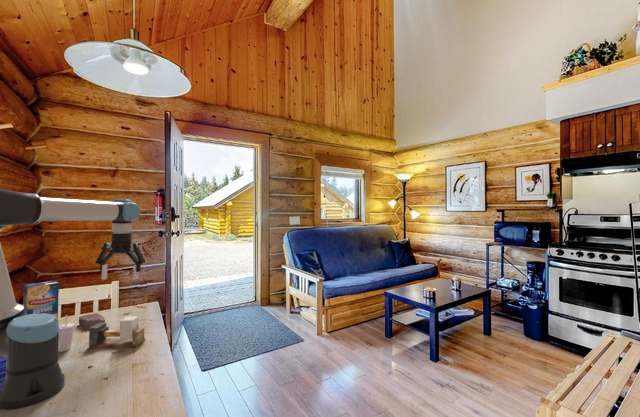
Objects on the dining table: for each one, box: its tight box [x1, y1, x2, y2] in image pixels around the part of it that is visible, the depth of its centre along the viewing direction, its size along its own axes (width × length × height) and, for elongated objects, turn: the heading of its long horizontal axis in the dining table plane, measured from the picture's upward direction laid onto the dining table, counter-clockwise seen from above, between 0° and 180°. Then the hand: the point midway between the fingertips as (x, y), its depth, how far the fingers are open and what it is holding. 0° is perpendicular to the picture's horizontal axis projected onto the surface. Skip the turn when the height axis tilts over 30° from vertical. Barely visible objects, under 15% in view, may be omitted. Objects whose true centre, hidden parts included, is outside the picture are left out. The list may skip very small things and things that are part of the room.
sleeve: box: [119, 315, 140, 339], centre depth 126 cm, size 5×5×8 cm
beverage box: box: [22, 280, 60, 319], centre depth 138 cm, size 7×11×22 cm, turn 146°
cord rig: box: [88, 322, 146, 349], centre depth 126 cm, size 20×7×8 cm, turn 93°
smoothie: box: [58, 314, 76, 353], centre depth 120 cm, size 6×6×14 cm
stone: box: [78, 312, 106, 331], centre depth 146 cm, size 9×12×5 cm
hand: (120, 279), depth 134 cm, fingers open, 13 cm apart
